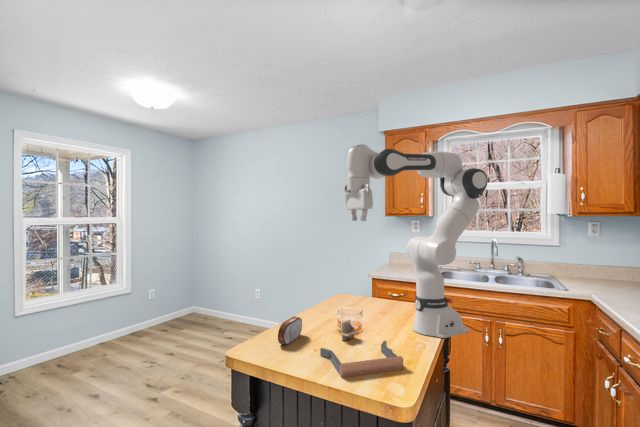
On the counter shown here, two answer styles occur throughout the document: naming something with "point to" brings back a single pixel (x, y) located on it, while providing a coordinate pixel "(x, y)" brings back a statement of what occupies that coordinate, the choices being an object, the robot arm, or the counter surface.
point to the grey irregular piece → (347, 330)
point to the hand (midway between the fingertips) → (358, 221)
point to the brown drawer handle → (365, 363)
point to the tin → (290, 330)
